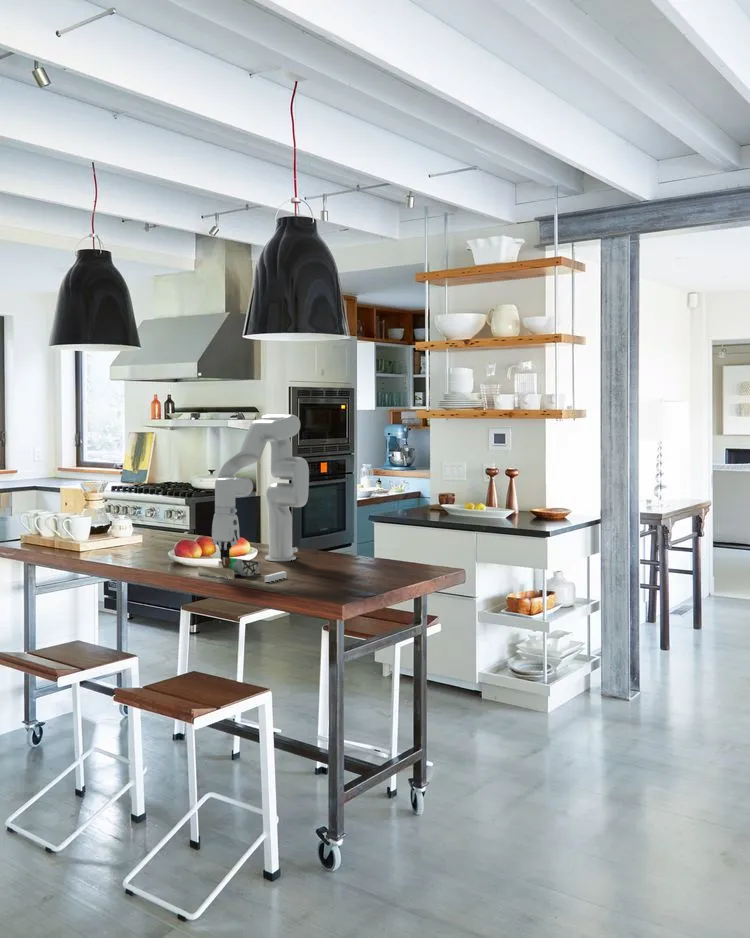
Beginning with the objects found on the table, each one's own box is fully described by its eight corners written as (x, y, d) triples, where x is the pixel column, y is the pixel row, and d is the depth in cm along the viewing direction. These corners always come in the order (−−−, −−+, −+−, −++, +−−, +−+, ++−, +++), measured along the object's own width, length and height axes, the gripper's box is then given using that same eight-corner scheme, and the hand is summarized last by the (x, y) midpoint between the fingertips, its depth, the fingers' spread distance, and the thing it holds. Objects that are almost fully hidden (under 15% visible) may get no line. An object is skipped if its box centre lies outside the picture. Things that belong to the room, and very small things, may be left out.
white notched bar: (282, 577, 334) (282, 571, 334) (286, 578, 333) (286, 571, 333) (264, 582, 324) (264, 575, 324) (268, 583, 324) (268, 576, 324)
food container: (217, 573, 334) (238, 575, 329) (219, 556, 334) (241, 559, 330) (237, 575, 344) (258, 578, 340) (239, 559, 345) (260, 561, 340)
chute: (224, 568, 352) (224, 559, 351) (260, 573, 343) (260, 564, 343) (194, 575, 337) (194, 566, 337) (231, 580, 328) (231, 570, 328)
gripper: (247, 511, 338) (247, 560, 339) (216, 509, 346) (216, 556, 347) (234, 513, 332) (233, 563, 333) (203, 510, 340) (203, 559, 341)
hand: (225, 559), depth 340 cm, fingers closed
